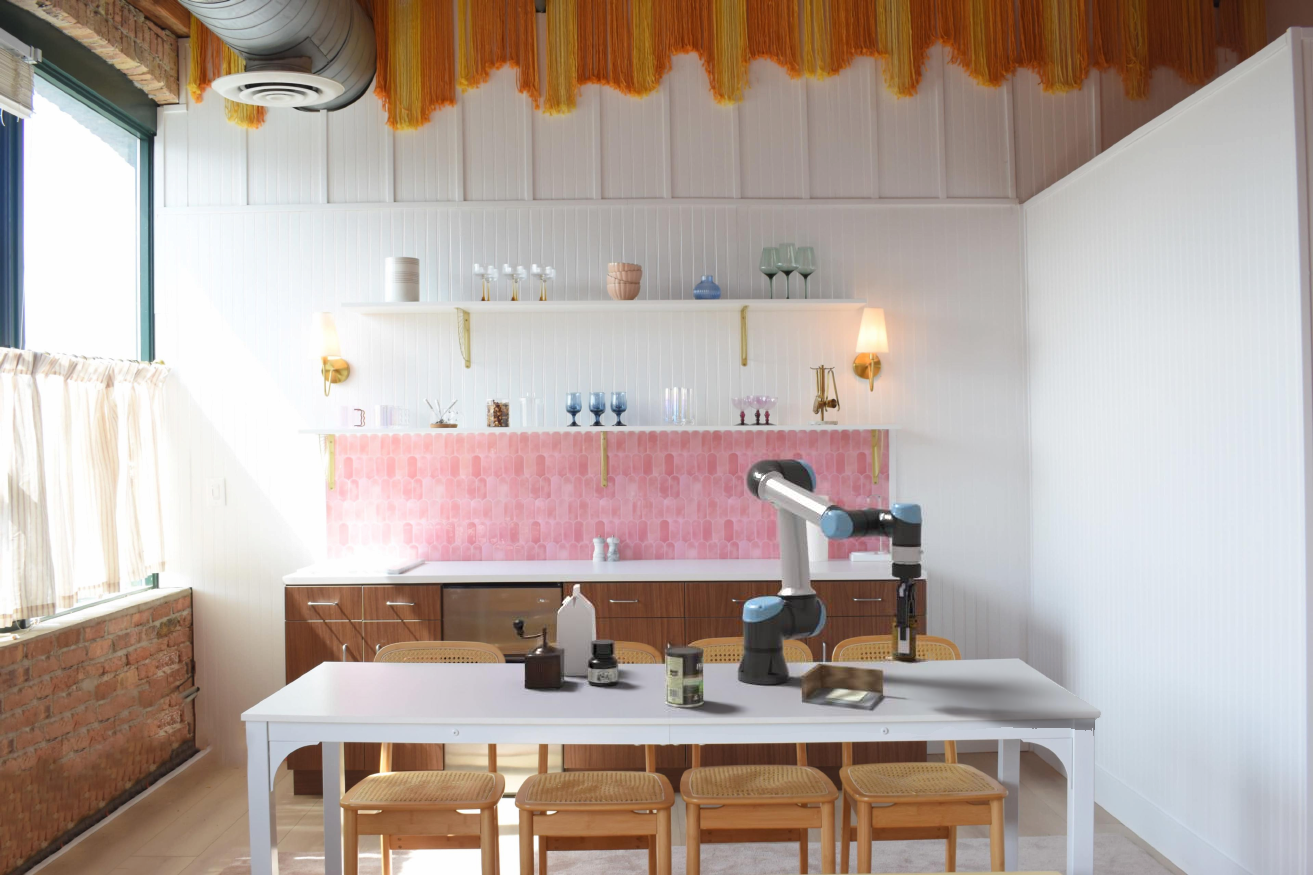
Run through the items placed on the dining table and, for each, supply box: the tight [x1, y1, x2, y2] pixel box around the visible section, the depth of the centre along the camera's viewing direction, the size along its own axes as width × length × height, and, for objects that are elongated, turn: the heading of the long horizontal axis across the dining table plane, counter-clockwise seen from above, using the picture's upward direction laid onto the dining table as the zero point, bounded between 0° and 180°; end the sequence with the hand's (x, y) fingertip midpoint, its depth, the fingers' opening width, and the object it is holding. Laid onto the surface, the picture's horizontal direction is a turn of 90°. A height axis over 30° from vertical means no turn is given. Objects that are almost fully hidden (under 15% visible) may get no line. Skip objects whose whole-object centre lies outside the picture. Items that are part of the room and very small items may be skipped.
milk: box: [555, 584, 597, 677], centre depth 282 cm, size 12×12×26 cm
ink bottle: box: [587, 639, 619, 687], centre depth 266 cm, size 10×9×12 cm
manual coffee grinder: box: [511, 618, 566, 690], centre depth 266 cm, size 16×11×18 cm
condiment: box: [884, 612, 927, 665], centre depth 241 cm, size 7×8×12 cm
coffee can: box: [664, 645, 705, 709], centre depth 245 cm, size 10×10×14 cm
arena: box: [801, 663, 884, 711], centre depth 248 cm, size 18×16×7 cm
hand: (906, 649), depth 242 cm, fingers closed on condiment, 6 cm apart
